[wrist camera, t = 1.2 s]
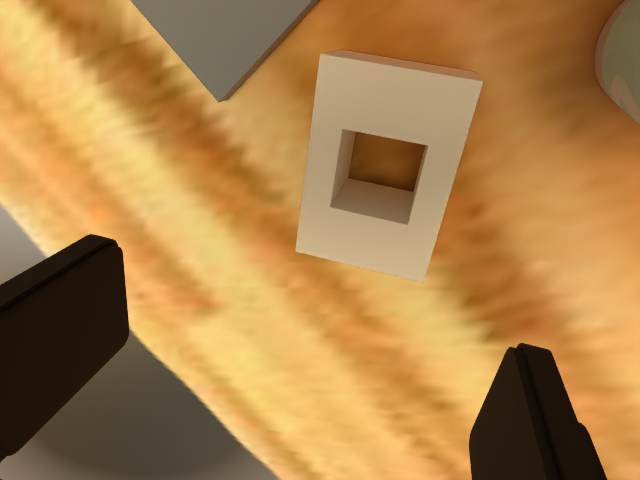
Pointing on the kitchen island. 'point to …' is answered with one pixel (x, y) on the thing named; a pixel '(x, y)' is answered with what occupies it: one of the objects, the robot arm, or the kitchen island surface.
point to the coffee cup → (621, 58)
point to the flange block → (392, 122)
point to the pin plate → (224, 35)
